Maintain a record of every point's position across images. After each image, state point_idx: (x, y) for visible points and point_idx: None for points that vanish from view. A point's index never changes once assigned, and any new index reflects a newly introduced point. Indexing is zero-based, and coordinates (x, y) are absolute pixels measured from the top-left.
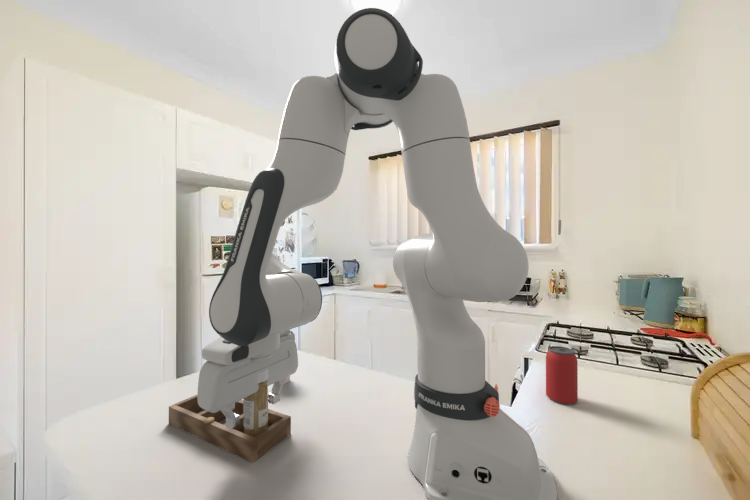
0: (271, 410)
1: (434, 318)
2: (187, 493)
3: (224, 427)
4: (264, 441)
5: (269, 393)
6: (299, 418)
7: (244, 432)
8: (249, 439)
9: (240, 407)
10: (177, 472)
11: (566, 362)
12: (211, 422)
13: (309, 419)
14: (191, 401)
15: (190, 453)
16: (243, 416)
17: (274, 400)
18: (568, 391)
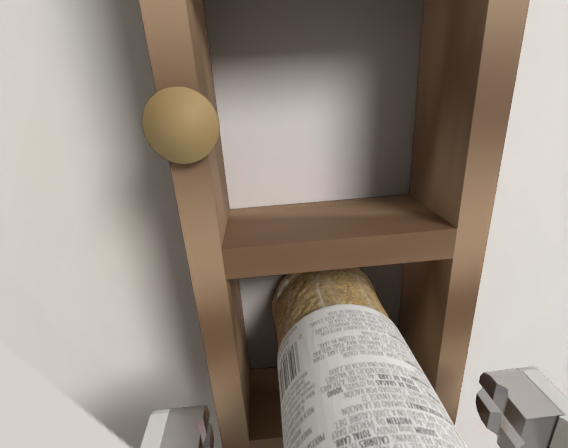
0: (465, 334)
1: None
2: (14, 353)
3: (209, 279)
4: None
5: (536, 421)
6: (526, 315)
7: (281, 323)
8: (228, 441)
9: (457, 75)
10: (9, 228)
11: None
12: (183, 163)
13: (531, 350)
14: None
15: (92, 145)
16: (291, 373)
17: (493, 430)
18: None
